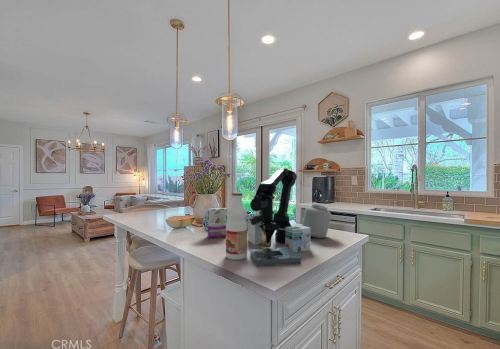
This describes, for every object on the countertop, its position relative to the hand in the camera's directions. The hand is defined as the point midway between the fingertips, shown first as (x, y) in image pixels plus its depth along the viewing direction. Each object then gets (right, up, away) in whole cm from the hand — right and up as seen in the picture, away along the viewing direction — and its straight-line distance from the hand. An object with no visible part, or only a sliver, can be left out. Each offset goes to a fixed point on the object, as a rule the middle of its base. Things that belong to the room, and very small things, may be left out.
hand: (266, 241), depth 114 cm
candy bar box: (-27, -4, +24) cm, 37 cm away
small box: (-5, -4, +13) cm, 15 cm away
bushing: (0, -2, 0) cm, 2 cm away
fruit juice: (-14, -4, -10) cm, 18 cm away
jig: (+3, -4, -13) cm, 14 cm away
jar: (+32, -5, +26) cm, 41 cm away
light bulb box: (+15, -4, +1) cm, 16 cm away
